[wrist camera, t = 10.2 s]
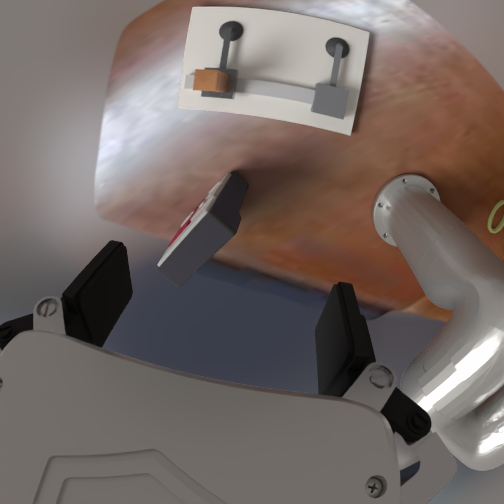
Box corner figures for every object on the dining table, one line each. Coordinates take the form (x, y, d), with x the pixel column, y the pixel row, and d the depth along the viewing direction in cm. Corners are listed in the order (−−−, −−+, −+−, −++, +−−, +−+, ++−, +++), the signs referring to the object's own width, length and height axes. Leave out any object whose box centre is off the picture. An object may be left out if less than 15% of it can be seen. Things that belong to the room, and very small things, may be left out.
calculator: (230, 167, 39) (204, 205, 27) (252, 186, 41) (236, 233, 28) (187, 215, 44) (150, 268, 31) (207, 232, 45) (178, 289, 33)
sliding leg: (246, 28, 26) (235, 10, 19) (234, 99, 32) (221, 99, 25) (215, 26, 26) (197, 10, 19) (205, 96, 32) (184, 97, 25)
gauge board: (366, 34, 26) (375, 28, 23) (348, 134, 35) (354, 138, 31) (195, 9, 26) (186, 2, 23) (181, 107, 35) (171, 109, 32)
